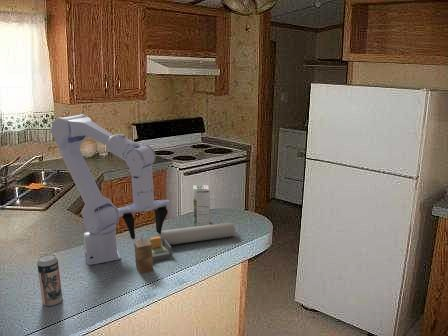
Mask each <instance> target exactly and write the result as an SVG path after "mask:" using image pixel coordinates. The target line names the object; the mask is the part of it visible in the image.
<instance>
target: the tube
mask: <svg viewBox="0 0 448 336" xmlns="http://www.w3.org/2000/svg"><path fill="white" fill-rule="evenodd" d="M235 231H236V230H235V227H234V223H231V222H221V223H214V224H213V223H212V224H210V225H204V226H196V227H194V226H188V227H182V228H173V229H166V230H165V229H164V230H163V229H162V230H161V236H162V245H163V239H164V238H165V239H166V241H167V242H168V243H169V244H170V246H172V245H180V244H187V243H195V242H202V241H211V240H217V239H224V238H231V237H232V236H235Z"/></svg>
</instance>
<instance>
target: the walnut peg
mask: <svg viewBox="0 0 448 336" xmlns="http://www.w3.org/2000/svg"><path fill="white" fill-rule="evenodd" d="M149 241H150V239H145V240H143V241H141V240H138V241H134V242H133V243H134V245H133V246H134V257H135V268H136V270H137V273H138V274H144V273H149V272H153V271H154V261H153V260H152V245H151V243H150V242H149Z"/></svg>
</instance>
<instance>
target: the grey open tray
mask: <svg viewBox="0 0 448 336" xmlns="http://www.w3.org/2000/svg"><path fill="white" fill-rule="evenodd" d="M158 236H160V237H161V247H156V248H152V260H153V262H157V261H163V260H167V259H168V260H169V259H171V258H173V255H174V254H173V252H172V251H173V250H172V245H170V244H169V243H168V242H167V241H166V239H165V238H164V239H163V245H162V236H161V234H158ZM143 240H146V239H145V238H144V237H143V235H142V236H140V241H143ZM149 242H150V240H149Z"/></svg>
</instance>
